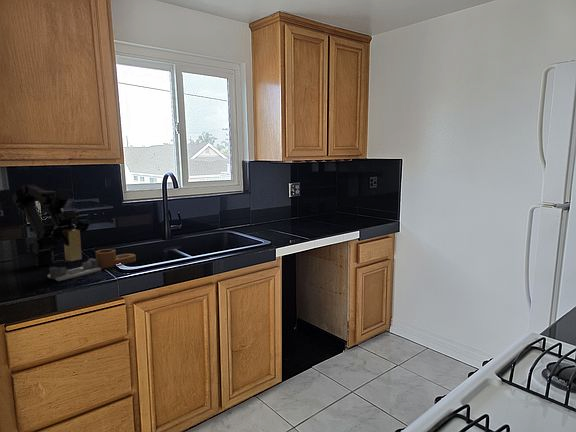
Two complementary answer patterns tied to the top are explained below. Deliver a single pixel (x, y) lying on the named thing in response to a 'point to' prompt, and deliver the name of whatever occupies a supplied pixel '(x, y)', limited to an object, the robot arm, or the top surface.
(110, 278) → the top surface
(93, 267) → the plate with raised blocks
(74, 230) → the gold tall square block
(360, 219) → the top surface
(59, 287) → the top surface
